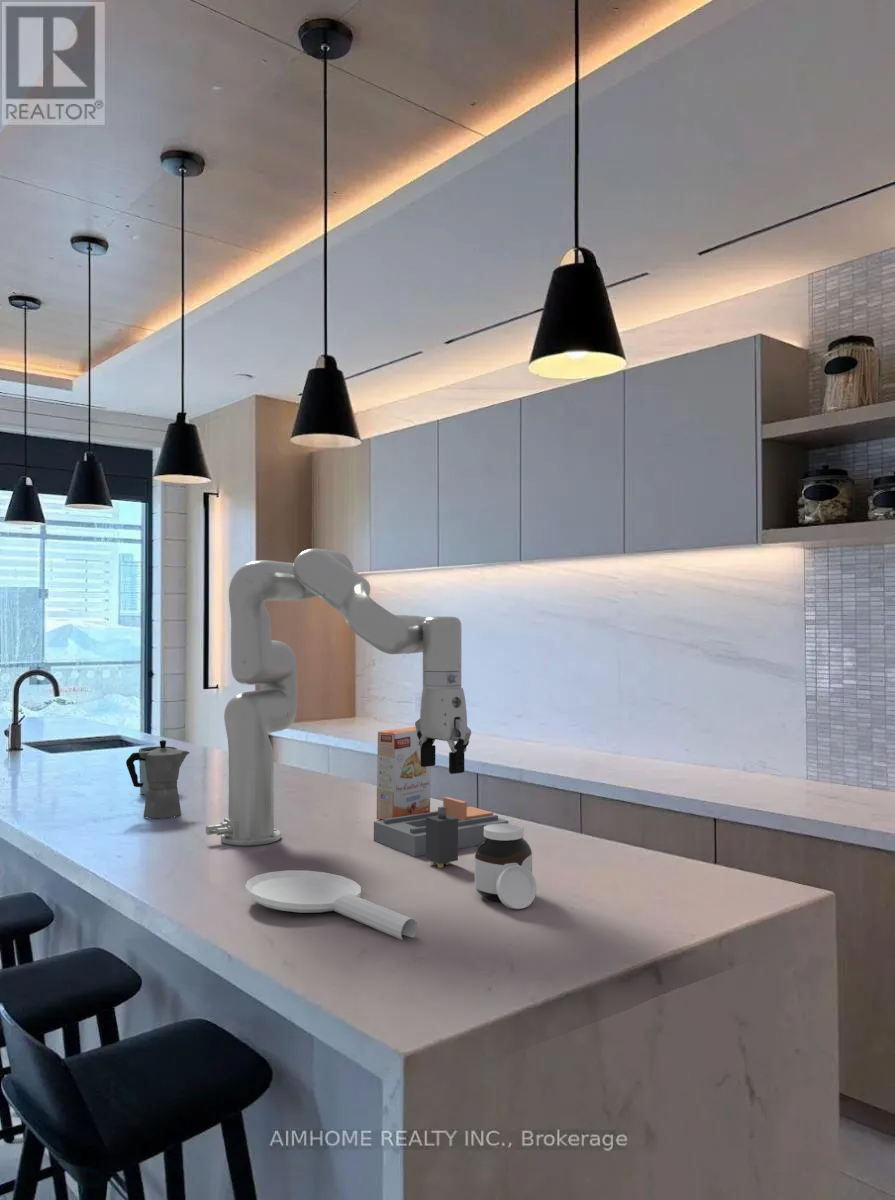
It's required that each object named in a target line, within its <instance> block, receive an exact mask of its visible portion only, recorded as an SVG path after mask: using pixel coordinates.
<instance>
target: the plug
mask: <svg viewBox="0 0 895 1200" xmlns="http://www.w3.org/2000/svg"><path fill="white" fill-rule="evenodd" d="M437 811H438V815H437V816H431V817H426V855H425V859H426V860H428V861H430V865H432V866H436V865H437V868H440V869H441V868H444V865H447V866H448V865H450V864H451V863H453V862H456V861H459V849H458V818H455V817H452V816H448V815H446V807H443V806H438V807H437Z"/></svg>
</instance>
